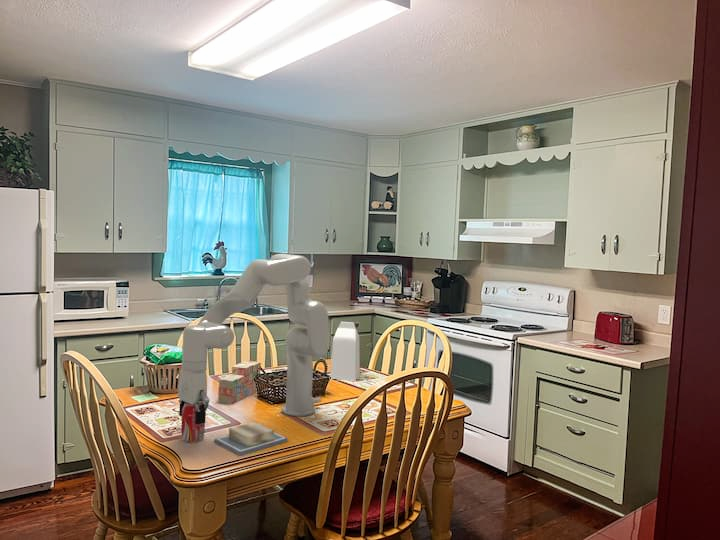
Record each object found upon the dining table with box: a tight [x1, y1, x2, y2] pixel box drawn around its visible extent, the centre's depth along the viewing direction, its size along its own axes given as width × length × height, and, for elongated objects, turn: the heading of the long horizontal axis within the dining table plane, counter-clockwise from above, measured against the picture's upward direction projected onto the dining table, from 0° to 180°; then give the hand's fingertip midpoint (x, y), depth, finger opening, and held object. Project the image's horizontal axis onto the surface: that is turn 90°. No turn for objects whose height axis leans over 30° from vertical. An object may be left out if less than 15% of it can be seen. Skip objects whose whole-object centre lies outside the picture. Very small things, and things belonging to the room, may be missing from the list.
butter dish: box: [213, 421, 289, 456], centre depth 177 cm, size 18×14×4 cm
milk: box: [329, 321, 361, 381], centre depth 260 cm, size 12×12×26 cm
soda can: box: [180, 402, 206, 443], centre depth 177 cm, size 7×7×12 cm
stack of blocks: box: [217, 360, 261, 405], centre depth 224 cm, size 21×6×12 cm, turn 161°
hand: (192, 419), depth 176 cm, fingers open, 9 cm apart
